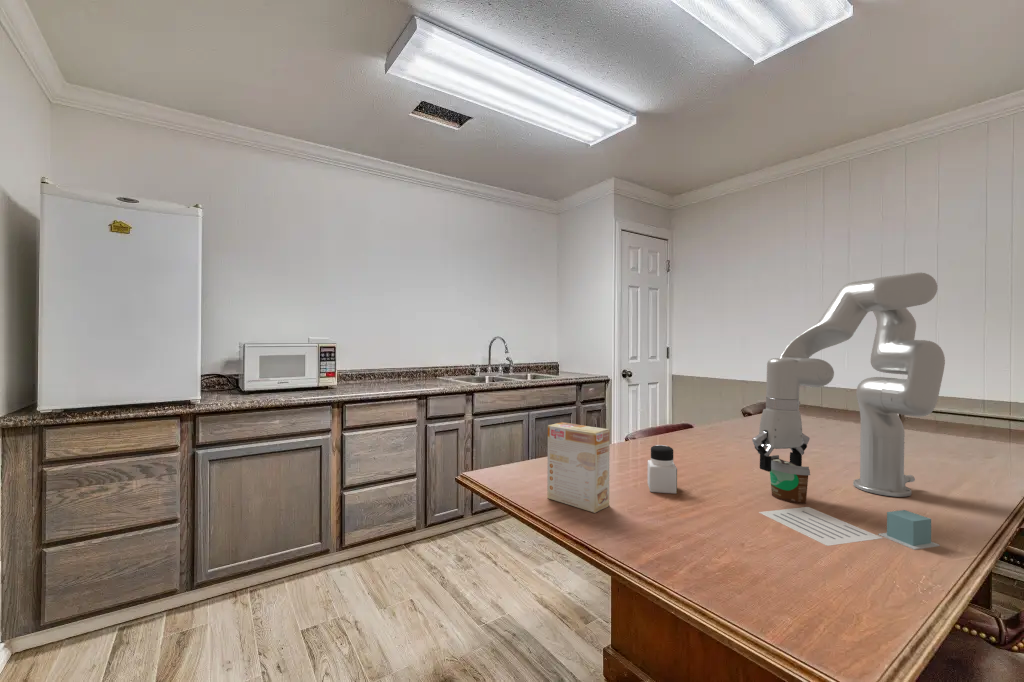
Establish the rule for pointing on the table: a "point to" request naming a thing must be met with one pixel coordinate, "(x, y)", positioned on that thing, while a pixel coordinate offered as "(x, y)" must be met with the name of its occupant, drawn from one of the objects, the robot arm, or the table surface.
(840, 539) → the letter
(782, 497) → the food container
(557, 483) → the coffeecake box
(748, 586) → the table surface
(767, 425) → the robot arm
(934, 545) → the mat
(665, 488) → the medicine bottle
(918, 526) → the teal block
